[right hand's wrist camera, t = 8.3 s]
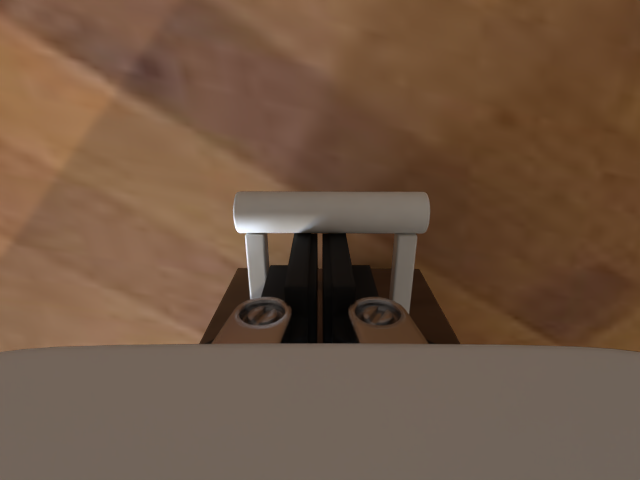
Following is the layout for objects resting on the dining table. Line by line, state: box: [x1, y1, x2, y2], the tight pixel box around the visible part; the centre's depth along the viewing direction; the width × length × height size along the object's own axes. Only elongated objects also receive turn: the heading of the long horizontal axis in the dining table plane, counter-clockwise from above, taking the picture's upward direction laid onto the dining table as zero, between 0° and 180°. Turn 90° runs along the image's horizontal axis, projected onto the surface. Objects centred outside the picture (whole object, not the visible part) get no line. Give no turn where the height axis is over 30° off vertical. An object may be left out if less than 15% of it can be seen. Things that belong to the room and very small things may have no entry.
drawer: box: [199, 192, 460, 344], centre depth 16 cm, size 22×9×8 cm, turn 0°
